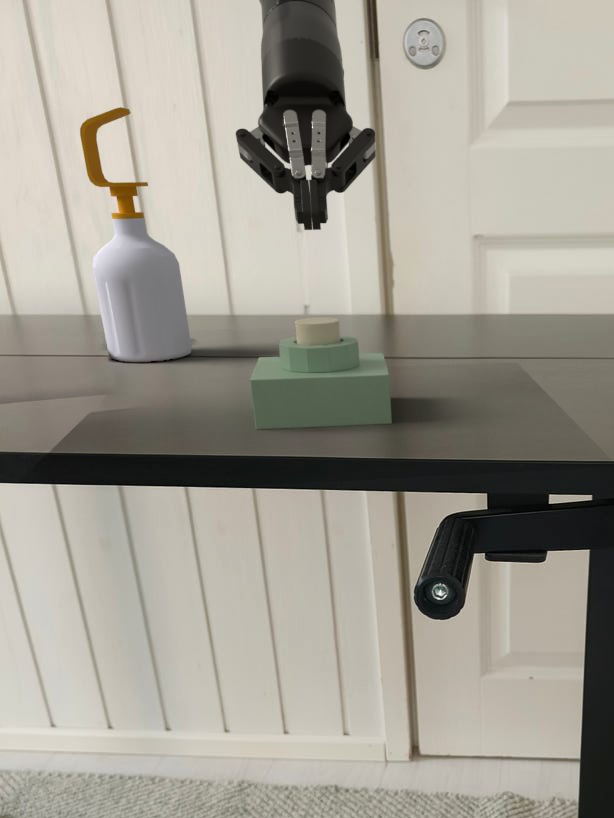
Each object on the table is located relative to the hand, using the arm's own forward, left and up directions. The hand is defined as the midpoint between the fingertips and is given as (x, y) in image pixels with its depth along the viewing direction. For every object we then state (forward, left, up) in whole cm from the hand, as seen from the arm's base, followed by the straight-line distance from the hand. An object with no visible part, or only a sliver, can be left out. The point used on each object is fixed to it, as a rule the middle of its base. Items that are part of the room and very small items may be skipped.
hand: (312, 222), depth 80 cm
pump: (-2, -8, -9) cm, 13 cm away
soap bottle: (-13, +28, -15) cm, 34 cm away
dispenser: (-2, -8, -15) cm, 17 cm away
